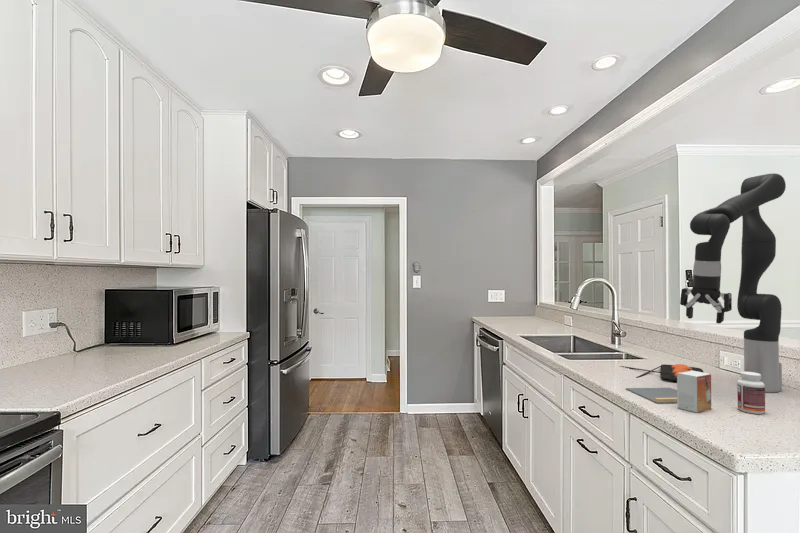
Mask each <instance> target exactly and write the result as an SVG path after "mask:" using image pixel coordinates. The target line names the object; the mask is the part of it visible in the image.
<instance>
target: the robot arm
mask: <svg viewBox="0 0 800 533" xmlns="http://www.w3.org/2000/svg"><path fill="white" fill-rule="evenodd" d="M786 187H787V186H786V180H785V178H784V176H783V175H781V174H778V173H773V172H772V173H765V174H759V175H755V176H751V177H747V178H745V179H743V181H742V183H741V186H740V194H737V195H735V196H731V198H728V199H726V200H725V201H723V202H722V203H720V204H718V205H717V206H715V207H713V208H709V209H706V210H704V211H701V212H699V213H697V214H696V215H694V217H692V219H691V221H690V222H689V228H690V231H691V232H692V233H693V234H695V235H698V236H700V235H701V236H710V238H709V239H708V240H707V241H702V242H698V243H697V244H696V245H695V248H694V263H693V269H692V284H691V286H692V288H688V287H684V288H682V289H681V293H680V299H679V300H680V302H679V304H680V306H684V307H685V308H686V309H685V315H686V317H687V319H690V320H691V319H692V318H694V316H693V315H694V306H695V305H696V304H697V303H698V304H706V305H711V306H712V307H713V308H714V309H715V310H716V321H715V323H716V324H722V323H723V322H724V321H725V313H728V312H730V311H732V304H733V303H732V302H733V301H732V299H733V298H732V293H731V292H727V293H725V292H721V278H722V260H721V259H722V249H723V246H724V243H725V240H726V237H727V235H728V233H729V230H730V227H731V224H733V223H734V222H735V221H737V220H738V219H739V218H741V217H742V226H741V227H742V229H741V230H742V232H741V233H742V234H741V235H742V237H741V248H740V249H741V251H740V252H741V263H740V264H741V271H740V282H739V286H738V294H737V300H736V301H737V302H736V303H737V307H736V308H737V312H738V315H739V316H740V317H741V318H742V319H746V320H747V319H748V320H757V321H759V324H758V326H756V327H754V328H750V329H746V330H744V332H743V372H754V373H759V374H761V380H760V381H761V382H763V383H764V385H765V393H779V392H782V391H783V374H782V372H783V371H782V370H783V367H782V366H783V365H782V362H780V349H779V347H780V345H779V344H780V342H779V341H780V340H779V338H780V335H781V326H782V309H783V308H782V303H781V300H780V298H779V297H778V296H777V295H775V294H769V293H758V287H759V286H758V285H759V282H760V279H761V278H762V276H763V275H764V273H766V271H767V270H768V269H769V267H770V266H771V264H772V263H773V262H774V260H775V258H776V254H777V248H776V247H777V238H776V235H775V234H774V232H773V230H771V228H770V227H769V226H768V224H767V223H766V222H765V221H764V219H763V217H762V215H761V212H760V206H762V205H764V204H767V203H769V202H771V201H775V200H776V199H779V198H781V197H782V196H783V195H784V193H785V191H786ZM690 294H691V295H692V298H691V299H690V300H689V301H688V298H689V295H690ZM720 298H721V299H722V300H723V305H722V302H721V301H720V300H719V299H720Z"/></svg>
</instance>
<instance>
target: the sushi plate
mask: <svg viewBox="0 0 800 533" xmlns="http://www.w3.org/2000/svg"><path fill="white" fill-rule="evenodd" d="M620 367H621V368H624V367H625V368H626V369H628V368H629V369H630V370H637V371H643V372H644V373H642V374H640V375H637V376H635V378H636V379H639V378H641V377H644V376H646V375H648V374H649V373H651V372H652V373H657V374H660V378H662V379H663V380H668V381H672V382H676V383H677V373H681V372H687V371H691V370H692V371H698V372H703V373H705V372H704V370H703V368H700V367H695V366H688V365H687V364H684V363H683V364H682V363H677V364H663V363H662V364H661V365H659V366H657V367H655V368H653V369H651V370H650V369H649V370H648V369H644V368H643V369H642V368H636V367H631V366H630V367H629V366H625V365H624V366H623V365H620ZM625 368H624V369H625ZM659 368H660V371H656V370H657V369H659Z"/></svg>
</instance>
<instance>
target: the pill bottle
mask: <svg viewBox="0 0 800 533" xmlns="http://www.w3.org/2000/svg"><path fill="white" fill-rule="evenodd" d="M739 373H740V374H739V376H740V379H738V380H737V384H736V385H737V386H736V389H737V390H736V391H737V409H738V410H740V411H741V412H743V413H744V412H745V413H748V414H754V415H755V414H756V415H763V414H765V413H766V392H765V385H764V383H763V382H761V381H760V380H761V374H759V373H754V372H744V371H739Z"/></svg>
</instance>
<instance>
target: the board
mask: <svg viewBox="0 0 800 533" xmlns="http://www.w3.org/2000/svg"><path fill="white" fill-rule="evenodd" d="M625 390H626V391H628V390H629V392H630V391H631V393H632V394H636V395H638V396H639V397H642V398H644V399H646V400H649V401H650V402H652V403H655V404H657V405H661V404H662V405H663V404H665V405H666V404H677V389H674V388H672V387H626V388H625Z"/></svg>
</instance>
